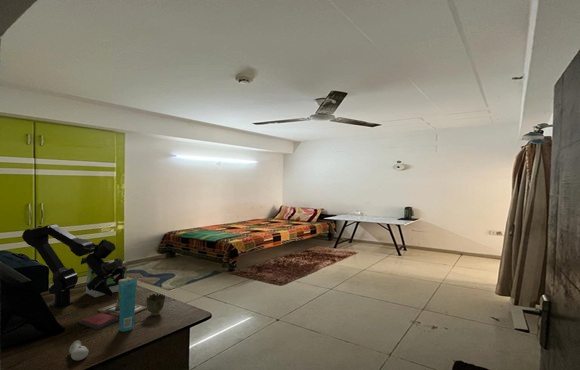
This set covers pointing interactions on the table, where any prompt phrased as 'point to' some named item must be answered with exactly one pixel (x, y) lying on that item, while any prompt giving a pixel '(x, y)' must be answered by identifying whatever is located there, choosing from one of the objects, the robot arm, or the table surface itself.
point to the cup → (155, 304)
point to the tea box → (110, 282)
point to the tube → (127, 303)
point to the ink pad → (99, 320)
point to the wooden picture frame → (111, 311)
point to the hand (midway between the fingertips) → (119, 291)
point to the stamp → (117, 307)
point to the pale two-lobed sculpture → (78, 351)
